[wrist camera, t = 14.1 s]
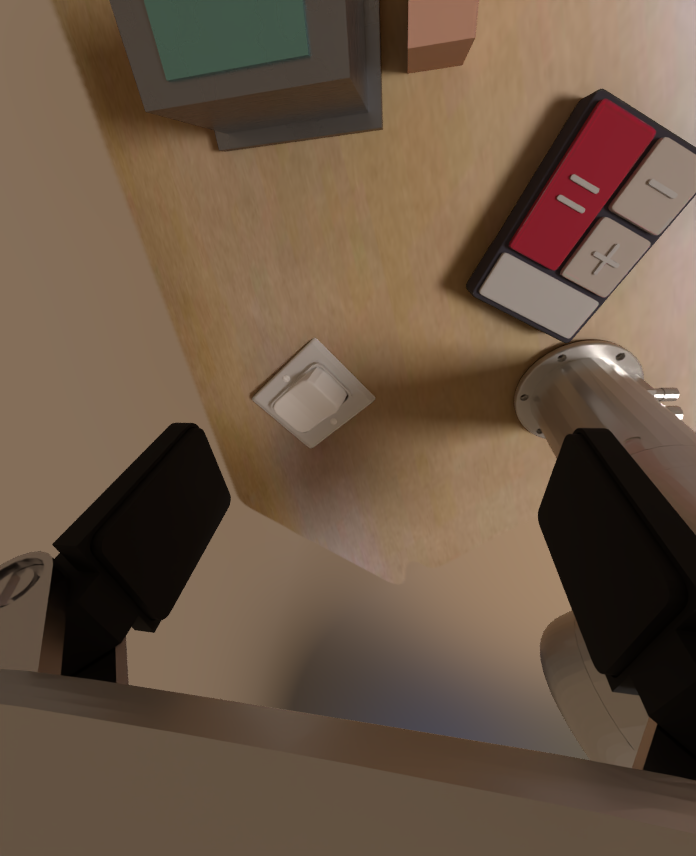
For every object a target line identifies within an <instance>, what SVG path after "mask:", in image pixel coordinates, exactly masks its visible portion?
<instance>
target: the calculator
mask: <svg viewBox="0 0 696 856" xmlns="http://www.w3.org/2000/svg"><path fill="white" fill-rule="evenodd" d="M695 195H696V147H694V146H693V145H691V144H689V143H688V142H686V141H685V140H683V139H682V138H680V137H679V136H677V135H675V134H674V133H672V132H671V131H669V130H668V129H666V128H664V127H663V126H661V125H660V124H658V123H657V122H655V121H653V120H652V119H650V118H649V117H647V116H646V115H644V114H642V113H641V112H639V111H638V110H636V109H635V108H633V107H631V106H630V105H628V104H627V103H625V102H624V101H622V100H620V99H619V98H617V97H616V96H614V95H613V94H611V93H610V92H608V91H606V90H604V89H599V90H597V91H595V92H594V93H592V94H590V95H588V96H587V97H585V98H583V99H582V100H580V101H579V103H578V104H577V106H576V107H575V109H574V110H573V112H572V114H571V115H570V117H569V119H568V120H567V122H566V123H565V125H564V127H563V128H562V130H561V132H560V133H559V135H558V136H557V138H556V140H555V141H554V143H553V145H552V146H551V148H550V149H549V151H548V153H547V154H546V156H545V158H544V159H543V161H542V162H541V164H540V166H539V167H538V169H537V171H536V172H535V174H534V175H533V177H532V179H531V180H530V182H529V184H528V185H527V187H526V189H525V190H524V192H523V194H522V195H521V197H520V199H519V200H518V202H517V204H516V205H515V207H514V209H513V210H512V212H511V213H510V215H509V217H508V218H507V220H506V222H505V223H504V225H503V227H502V228H501V230H500V232H499V233H498V235H497V237H496V238H495V240H494V241H493V243H492V244H491V245H490V247H489V248H488V250H487V251H486V253H485V255H484V256H483V258H482V260H481V261H480V263H479V264H478V266H477V268H476V269H475V271H474V273H473V274H472V276H471V277H470V279H469V281H468V282H467V284H466V288H467V290H468V291H469V292H470V293H471V294H472V295H473V296H474V297H475V298H477V299H479V300H481V301H483V302H485V303H487V304H489V305H491V306H493V307H495V308H497V309H499V310H501V311H503V312H505V313H507V314H509V315H511V316H513V317H515V318H517V319H519V320H520V321H522V322H524V323H526V324H528V325H530V326H532V327H534V328H536V329H538V330H540V331H542V332H544V333H546V334H548V335H550V336H552V337H554V338H556V339H558V340H560V341H562V342H564V343H568V342H570V341H571V340H572V339H573V338H574V337H575V335H576V334H577V333H578V332H579V331H580V330H581V328H582V327H583V326H584V325H585V324H586V323H587V321H588V320H589V319H590V318H591V317H592V316H593V314H594V313H595V312H596V311H597V310H598V309H599V307H600V306H601V305H602V304H603V303H604V302H605V300H606V299H607V298H608V297H609V296H610V295H611V293H612V292H613V291H614V290H615V289H616V288H617V286H618V285H619V284H620V283H621V282H622V281H623V279H624V278H625V277H626V276H627V275H628V274H629V272H630V271H631V270H632V269H633V268H634V267H635V265H636V264H637V263H638V262H639V261H640V259H641V258H642V257H643V256H644V255H645V254H646V252H647V251H648V250H649V249H650V248H651V247H652V245H653V244H654V243H655V242H656V241H657V240H658V238H659V237H660V236H661V235H662V234H663V233H664V231H665V230H666V229H667V228H668V227H669V226H670V224H671V223H672V222H673V221H674V220H675V219H676V217H677V216H678V215H679V214H680V213H681V212H682V210H683V209H684V208H685V207H686V206H687V205H688V203H689V202H690V201H691V200H692V199H693V198H694V196H695Z"/></svg>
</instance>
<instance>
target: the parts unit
mask: <svg viewBox="0 0 696 856" xmlns="http://www.w3.org/2000/svg"><path fill="white" fill-rule="evenodd" d="M109 1H110V4H111V7H112V10H113V13H114V16H115V19H116V22H117V25H118V28H119V31H120V35H121V38H122V41H123V44H124V47H125V50H126V53H127V56H128V59H129V62H130V65H131V68H132V72H133V75H134V78H135V81H136V84H137V87H138V90H139V93H140V96H141V99H142V102H143V105H144V108H145V112H148V113H152V114H156V115H159V116H163V117H167V118H170V119H174V120H178V121H182V122H185V123H189V124H193V125H196V126H200V127H204V128H208V129H211V130H214V131H215V135H216V139H217V143H218V147H219V150H220V151H232V150H239V149H246V148H254V147H261V146H268V145H275V144H282V143H289V142H297V141H304V140H311V139H318V138H325V137H333V136H340V135H347V134H354V133H361V132H368V131H376V130H383V120H382V78H381V36H380V0H109Z"/></svg>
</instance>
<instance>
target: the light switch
mask: <svg viewBox="0 0 696 856" xmlns="http://www.w3.org/2000/svg"><path fill="white" fill-rule="evenodd" d="M346 391H347V392H346ZM347 393H348V397H347V398H346V396H347ZM345 398H346V399H345ZM252 400H253V401H254V402H255V403H256V404H257V405H259V406H260V407H261V408H262V409H263V410H265V411H266V412H267V413H268V414H269V415H270V416H272V417H273V418H274V419H275V420H276V421H278V422H279V423H280V424H281V425H282V426H284V427H285V428H286V429H287V430H288V431H290V432H291V433H292V434H293V435H294V436H295V437H297V438H298V439H299V440H300V441H301V442H303V443H304V444H305V445H306V446H307V447H309V448H313V447H315V446H316V445H317V444H319V443H320V442H321V441H323V440H324V439H325V438H326V437H328V436H329V435H330V434H332V433H333V432H334V431H336V430H337V429H338V428H340V427H341V426H342V425H343V424H345V423H346V422H347V421H349V420H350V419H351V418H353V417H354V416H355V415H356V414H358V413H359V412H360V411H362V410H363V409H364V408H366V407H367V406H368V405H369V404H371V403H372V402H373V401H374V400H375V396H374V395H373V394H372V393H371V392H370V391H369V390H368V389H367V388H366V387H365V386H364V385H363V384H362V383H361V382H360V381H359V380H358V379H357V378H356V377H355V376H354V375H353V374H352V373H351V372H350V371H349V370H348V369H347V368H346V367H345V366H344V365H343V364H342V363H341V362H340V361H339V360H338V359H337V358H336V357H335V356H334V355H333V354H332V353H331V352H330V351H329V350H328V349H327V348H326V347H325V346H324V345H323V344H322V343H321V342H320V341H319V340H318V339H317V338H313V339H312V340H311V341H310V342H309V343H308V344H307V345H306V346H305V347H304V348H303V349H302V350H300V351H299V352H298V353H297V354H296V355H295V356H294V357H293V358H292V359H291V360H290V361H289V362H288V363H287V364H286V365H285V366H284V367H283V368H282V369H281V370H280V371H279V372H278V373H277V374H276V375H275V376H274V377H273V378H272V379H270V380H269V381H268V382H267V383H266V384H265V385H264V386H263V387H262V388H261V389H260V390H259V391H258V392H257V393H256V394H255V395H254V396H253V398H252Z"/></svg>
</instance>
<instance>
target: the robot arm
mask: <svg viewBox="0 0 696 856" xmlns="http://www.w3.org/2000/svg"><path fill="white" fill-rule="evenodd" d="M560 355H561V356H560ZM558 356H559V357H558ZM678 397H679V390H678V389H677V388H657V389H654V388H653V387H651V386H650V385H649V384H648V383H647V382H645V381H644V373H643V369H642V366H641V364H640V362H639V361H638V359H637V358H636V357H635V356H634V355H633V354H632V353H630V352H629V351H628V350H626V349H625V348H623V347H622V346H620V345H617V344H615V343H612V342H608V341H600V340H588V341H580V342H575V343H571V344H568V345H565V346H562V347H559V348H557V349H555V350H554V351H552V352H550V353H548V354H546V355H545V356H543V357H542V358H540V359H539V360H538V361H536V362H535V363H534V364H533V365H532V366H531V367H530V368H529V369H528V370H527V372H526V373H525V374H524V375H523V377H522V378H521V380H520V382H519V384H518V386H517V388H516V392H515V396H514V407H515V412H516V414H517V416H518V419H519V421H520V422H521V423H522V425H523V426H524V427H525V428H526V429H527V430H528V431H529V432H531V433H532V434H534V435H536V436H538V437H541V438H544V439H546V440H547V442H548V443H549V445H550V447H551V449H552V451H553V453H554V454H555V456H556V458H557V460H556V463H555V466H554V468H553V471H552V474H551V477H550V480H549V482H548V485H547V488H546V491H545V494H544V496H543V499H542V502H541V505H540V508H539V511H538V521H539V525H540V528H541V530H542V533H543V535H544V538H545V541H546V543H547V546H548V548H549V551H550V554H551V556H552V559H553V561H554V564H555V567H556V569H557V572H558V574H559V577H560V580H561V582H562V585H563V587H564V590H565V592H566V595H567V598H568V600H569V603H570V605H571V608H572V611H570V612H568V613H566V614H564V615H562V616H560V617H558V618H556V619H555V620H554V621H552V622H551V623H550V624H549V625H548V626H547V628H546V629H545V631H544V633H543V635H542V638H541V642H540V657H541V663H542V668H543V672H544V675H545V678H546V681H547V684H548V687H549V689H550V692H551V694H552V696H553V698H554V700H555V702H556V704H557V707H558V708H559V710H560V712H561V714H562V716H563V717H564V719H565V721H566V723H567V725H568V726H569V728H570V730H571V731H572V733H573V734H574V736H575V738H576V739H577V741H578V742H579V744H580V746H581V747H582V749H583V750H584V752H585V753H586V755H587V756H588V758H589V759H590V760H585V759H579V758H574V757H568V756H563V755H558V754H552V753H546V752H540V751H534V750H527V749H522V748H516V747H509V746H503V745H497V744H491V743H485V742H479V741H473V740H467V739H461V738H455V737H449V736H443V735H437V734H430V733H425V732H419V731H413V730H407V729H401V728H395V727H388V726H383V725H377V724H370V723H364V722H358V721H352V720H346V719H339V718H333V717H327V716H321V715H315V714H308V713H302V712H296V711H290V710H284V709H277V708H271V707H265V706H258V705H252V704H246V703H240V702H234V701H227V700H221V699H215V698H208V697H202V696H195V695H189V694H183V693H176V692H170V691H164V690H157V689H151V688H144V687H138V686H132V685H129V684H128V666H127V648H126V635H127V633H128V631H129V630H130V628H131V627H132V628H133V629H134V630H138V631H146V632H153V633H154V632H155V631H156V629H157V627H158V625H159V623H160V621H161V620H163V619H165V618H166V617H167V616H168V615H169V613H170V612H171V610H172V608H173V607H174V605H175V603H176V601H177V599H178V598H179V596H180V594H181V592H182V590H183V589H184V587H185V585H186V583H187V581H188V580H189V578H190V576H191V574H192V572H193V570H194V569H195V567H196V565H197V563H198V562H199V560H200V558H201V556H202V554H203V553H204V551H205V549H206V547H207V545H208V543H209V542H210V540H211V538H212V536H213V534H214V533H215V531H216V529H217V527H218V526H219V524H220V522H221V520H222V518H223V516H224V515H225V513H226V511H227V509H228V508H229V505H230V500H231V499H230V498H231V497H230V493H229V491H228V488H227V486H226V484H225V481H224V478H223V476H222V474H221V471H220V469H219V466H218V464H217V462H216V459H215V457H214V454H213V452H212V449H211V447H210V445H209V442H208V440H207V437H206V435H205V433H204V431H203V430H202V429H200V428H199V427H198V426H197V425H196V424H194V423H173V424H171V425H170V426H169V427H168V428H167V429H166V430H165V431H164V432H163V433H162V434H161V435H160V436H159V437H158V438H157V439H156V440H155V441H154V442H153V443H152V444H151V445H150V446H149V447H148V448H147V449H146V450H145V451H144V452H143V453H142V454H141V455H140V456H139V457H138V458H137V459H136V460H135V461H134V462H133V463H132V464H131V465H130V466H129V467H128V468H127V469H126V470H125V471H124V472H123V473H122V474H121V475H120V476H119V477H118V478H117V479H116V480H115V481H114V482H113V483H112V484H111V485H110V486H109V488H107V490H105V492H104V493H102V494H101V496H100V497H98V499H97V500H96V501H95V502H94V503H93V504H92V505H91V506H90V507H89V508H88V509H87V510H86V511H85V512H84V513H83V514H82V515H81V516H80V517H79V518H78V519H77V520H76V521H75V522H74V523H73V524H72V525H71V526H70V527H69V528H68V529H67V530H66V531H65V532H64V533H63V534H62V535H61V536H60V537H59V538H58V539H57V540H56V541H55V542H54V543H53V546H54V547H55V548H56V549H57V550H58V551H59V552H60V554H59V555H58V556H57V557H56V558H55V559H53V558H52V557H51V556H50V555H49V554H48V553H45V552H41V551H38V552H30V553H27V554H23V555H20V556H17V557H15V558H13V559H11V560H10V561H7V562H5V563H3V564H2V565H0V856H696V432H694V431H693V430H692V429H691V428H690V427H689V426H687V425H686V424H685V423H684V422H683V421H682V418H683V411H682V409H681V408H680V407H678V406H664V405H663V404H662V403H661V402H660V401H676V400H677V399H678Z"/></svg>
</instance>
